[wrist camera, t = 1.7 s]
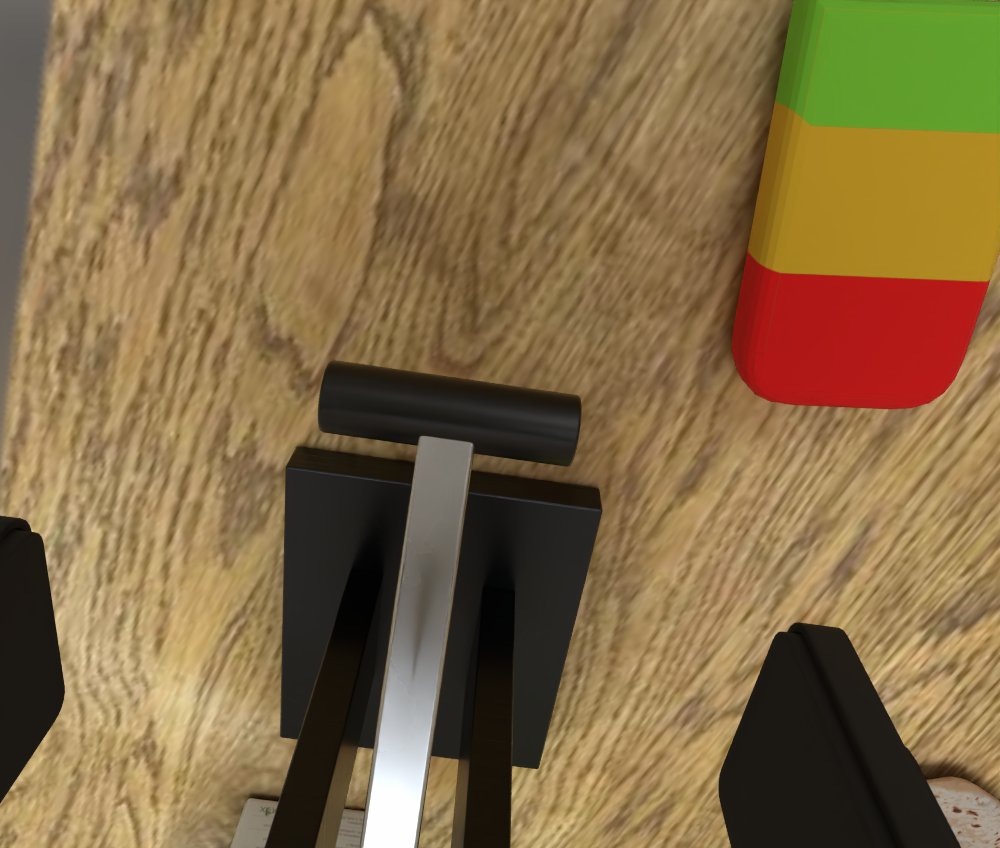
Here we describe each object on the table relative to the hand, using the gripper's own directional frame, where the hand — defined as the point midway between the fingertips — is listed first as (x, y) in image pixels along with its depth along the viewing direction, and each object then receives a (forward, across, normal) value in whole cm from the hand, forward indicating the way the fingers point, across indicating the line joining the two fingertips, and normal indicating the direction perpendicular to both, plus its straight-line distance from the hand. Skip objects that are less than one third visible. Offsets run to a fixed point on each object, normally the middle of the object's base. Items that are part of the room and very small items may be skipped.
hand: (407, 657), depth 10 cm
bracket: (+12, 0, +10) cm, 16 cm away
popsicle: (+12, -9, -7) cm, 17 cm away
